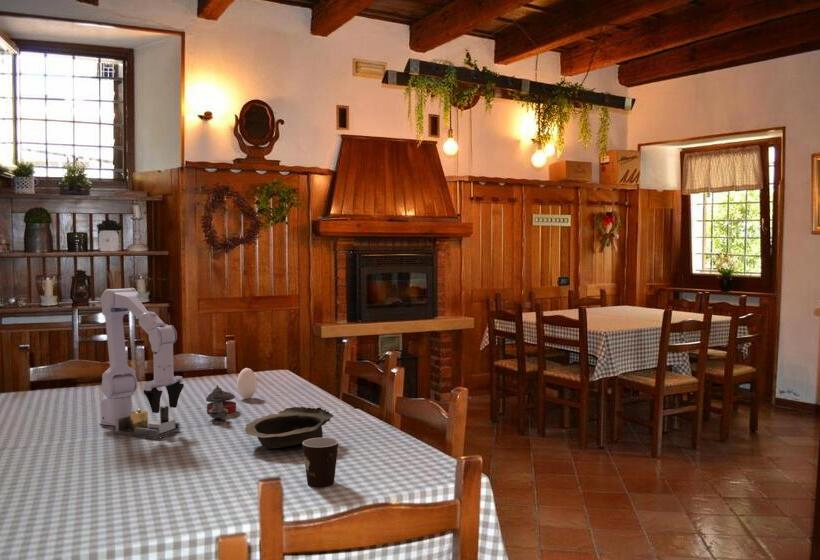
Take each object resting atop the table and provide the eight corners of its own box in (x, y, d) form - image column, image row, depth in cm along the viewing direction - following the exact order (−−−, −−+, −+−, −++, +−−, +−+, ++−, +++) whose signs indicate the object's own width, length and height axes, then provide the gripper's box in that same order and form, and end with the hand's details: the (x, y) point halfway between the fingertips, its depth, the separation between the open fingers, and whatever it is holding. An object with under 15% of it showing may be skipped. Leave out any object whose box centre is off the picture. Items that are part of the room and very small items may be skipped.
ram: (148, 432, 213) (148, 408, 212) (165, 427, 219) (164, 403, 219) (159, 433, 211) (159, 409, 211) (175, 428, 218) (175, 405, 217)
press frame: (114, 433, 216) (114, 419, 216) (138, 426, 225) (138, 412, 225) (156, 439, 210) (156, 424, 209) (179, 431, 219) (179, 416, 219)
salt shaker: (222, 423, 228) (221, 387, 228) (205, 422, 229) (204, 386, 229) (230, 419, 234) (229, 383, 233) (214, 418, 235) (213, 383, 235)
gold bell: (127, 429, 217) (126, 410, 217) (138, 425, 222) (138, 406, 222) (139, 430, 215) (139, 411, 215) (151, 427, 220) (151, 408, 220)
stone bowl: (345, 436, 211) (344, 406, 210) (307, 467, 188) (306, 433, 187) (273, 428, 219) (271, 399, 218) (227, 457, 196) (225, 425, 195)
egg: (261, 398, 267) (260, 367, 267) (247, 401, 261) (246, 370, 261) (247, 396, 271) (246, 365, 271) (232, 399, 265) (232, 368, 265)
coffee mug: (304, 478, 173) (303, 438, 173) (339, 476, 174) (338, 437, 174) (300, 494, 162) (300, 451, 161) (338, 493, 163) (337, 450, 162)
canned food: (207, 427, 242) (193, 402, 242) (225, 418, 251) (212, 393, 251) (230, 415, 237) (216, 389, 238) (247, 406, 246) (234, 380, 247)
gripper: (156, 370, 206) (157, 416, 206) (190, 362, 219) (190, 406, 220) (138, 368, 208) (139, 414, 209) (172, 361, 222) (172, 404, 222)
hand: (164, 409), depth 214 cm, fingers open, 7 cm apart
